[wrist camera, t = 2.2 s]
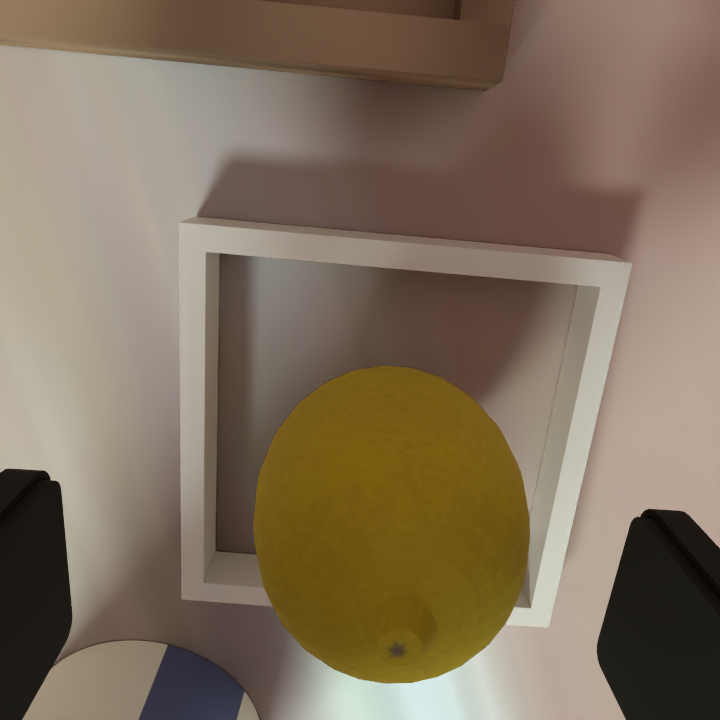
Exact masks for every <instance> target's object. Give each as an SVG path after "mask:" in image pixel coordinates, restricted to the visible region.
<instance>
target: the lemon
mask: <svg viewBox="0 0 720 720" xmlns="http://www.w3.org/2000/svg"><path fill="white" fill-rule="evenodd" d="M253 529H254V541H255V548H256V553H257V559H258V564H259V569H260V574H261V579H262V583H263V586H264V589H265V591H266V594H267V596H268V598H269V600H270V602H271V604H272V606H273V608H274V610H275V612H276V613H277V615H278V617H279V619H280V621H281V623H282V624H283V625H284V626H285V628H286V629H287V630H288V631H289V632H290V634H291V635H292V636H293V637H294V638H295V639H296V640H297V641H298V642H299V643H300V645H301V646H302V647H303V648H304V649H305V650H306V651H308V652H309V653H311V654H312V655H313V656H315V657H316V658H318V659H319V660H321V661H322V662H324V663H325V664H327V665H328V666H330V667H331V668H333V669H335V670H337V671H340V672H342V673H345V674H347V675H350V676H352V677H355V678H358V679H362V680H368V681H374V682H380V683H413V682H417V681H421V680H425V679H430V678H434V677H438V676H440V675H442V674H444V673H447V672H449V671H451V670H453V669H455V668H457V667H460V666H462V665H463V664H464V663H466V662H467V661H468V660H469V659H471V658H472V657H473V656H475V655H476V654H477V653H479V652H480V651H481V650H483V649H484V648H485V647H486V646H488V645H489V644H490V642H491V641H492V640H493V639H494V637H495V636H496V635H497V634H498V632H499V631H500V630H501V629H502V627H503V626H504V625H505V624H506V622H507V620H508V618H509V617H510V615H511V613H512V611H513V609H514V606H515V604H516V602H517V599H518V597H519V595H520V592H521V590H522V588H523V584H524V580H525V576H526V568H527V561H528V553H529V544H530V521H529V513H528V507H527V501H526V496H525V490H524V484H523V479H522V475H521V472H520V469H519V466H518V464H517V462H516V460H515V458H514V456H513V454H512V452H511V450H510V448H509V446H508V444H507V442H506V440H505V438H504V436H503V434H502V432H501V430H500V429H499V427H498V426H497V425H496V423H495V422H494V421H493V420H492V419H491V418H490V417H489V416H488V414H487V413H486V412H485V411H484V410H483V409H482V408H481V407H480V406H479V404H478V403H477V402H476V401H475V400H474V399H473V398H472V397H471V396H469V395H468V394H467V393H465V392H463V391H462V390H460V389H459V388H457V387H456V386H454V385H453V384H451V383H449V382H448V381H446V380H445V379H443V378H441V377H438V376H435V375H432V374H429V373H426V372H423V371H420V370H417V369H414V368H408V367H395V366H377V367H370V368H364V369H358V370H353V371H351V372H348V373H346V374H344V375H341V376H339V377H337V378H334V379H332V380H330V381H327V382H326V383H324V384H323V385H322V386H320V387H319V388H318V389H316V390H315V391H314V392H312V393H311V394H310V395H308V396H307V397H306V398H304V399H303V400H302V401H300V403H299V404H298V405H297V406H296V407H295V409H294V410H293V411H292V412H291V414H290V415H289V416H288V418H287V419H286V420H285V421H284V423H283V424H282V425H281V426H280V428H279V429H278V430H277V432H276V434H275V436H274V438H273V440H272V443H271V445H270V448H269V450H268V452H267V455H266V457H265V460H264V462H263V465H262V467H261V470H260V473H259V477H258V482H257V491H256V501H255V510H254V521H253Z"/></svg>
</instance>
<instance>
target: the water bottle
mask: <svg viewBox="0 0 720 720" xmlns="http://www.w3.org/2000/svg"><path fill="white" fill-rule="evenodd" d="M22 720H259V717H258V714H257V711H256V709H255V707H254V705H253V703H252V701H251V700H250V698H249V697H248V695H247V694H246V692H245V691H244V690H243V688H242V687H241V686H240V685H239V684H238V683H237V682H236V681H235V680H234V679H233V678H232V677H231V676H230V675H229V674H227V673H226V672H225V671H224V670H222V669H221V668H220V667H218V666H217V665H215V664H214V663H212V662H210V661H209V660H207V659H205V658H203V657H201V656H199V655H197V654H195V653H192V652H190V651H187V650H184V649H182V648H178V647H175V646H171V645H167V644H163V643H157V642H150V641H138V640H126V641H114V642H107V643H102V644H97V645H94V646H90V647H87V648H85V649H82V650H80V651H77V652H75V653H73V654H71V655H69V656H68V657H66V658H64V659H63V660H61V661H60V662H59V663H57V664H56V665H55V666H54V667H53V668H52V669H50V671H49V673H48V675H47V677H46V678H45V680H44V682H43V684H42V685H41V687H40V689H39V691H38V693H37V694H36V696H35V698H34V700H33V702H32V703H31V705H30V707H29V709H28V711H27V712H26V714H25V716H24V718H23V719H22Z"/></svg>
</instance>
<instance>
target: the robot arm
mask: <svg viewBox="0 0 720 720" xmlns="http://www.w3.org/2000/svg"><path fill="white" fill-rule="evenodd" d="M71 625H72V606H71V595H70V584H69V573H68V562H67V551H66V539H65V528H64V517H63V506H62V495H61V487H60V484H59V482H57V481H51V480H50V477H49V475H48V473H47V472H45V471H39V470H23V469H5V470H4V471H2V472H1V473H0V720H22V719H23V718H24V716H25V714H26V712H27V711H28V709H29V707H30V705H31V703H32V702H33V700H34V698H35V696H36V694H37V693H38V691H39V689H40V687H41V685H42V684H43V682H44V680H45V678H46V677H47V675H48V673H49V671H50V669H51V668H52V666H53V664H54V662H55V660H56V659H57V657H58V655H59V653H60V652H61V650H62V648H63V646H64V644H65V643H66V641H67V638H68V636H69V633H70V629H71ZM597 656H598V661H599V664H600V667H601V669H602V671H603V673H604V675H605V678H606V680H607V682H608V684H609V686H610V688H611V690H612V692H613V694H614V696H615V698H616V700H617V702H618V704H619V706H620V708H621V710H622V712H623V714H624V716H625V718H626V720H720V548H719V547H718V546H717V545H716V544H715V543H714V542H713V541H712V540H711V539H710V538H709V537H708V535H707V534H706V533H705V532H704V531H703V530H702V529H701V528H700V527H699V526H698V525H697V524H696V523H695V521H694V520H693V519H692V518H691V517H690V516H689V515H688V514H686V513H685V512H682V511H673V510H657V509H648V510H645V511H644V512H643V513H642V514H641V517H636V518H634V519H633V520H632V522H631V525H630V528H629V531H628V535H627V538H626V542H625V546H624V549H623V553H622V556H621V560H620V563H619V567H618V571H617V574H616V578H615V581H614V585H613V589H612V592H611V596H610V599H609V603H608V606H607V610H606V614H605V617H604V621H603V624H602V628H601V632H600V635H599V639H598V643H597Z"/></svg>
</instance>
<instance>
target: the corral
mask: <svg viewBox="0 0 720 720" xmlns="http://www.w3.org/2000/svg"><path fill="white" fill-rule="evenodd" d="M220 253H223V254H234V255H246V256H257V257H268V258H280V259H291V260H302V261H313V262H325V263H336V264H347V265H358V266H370V267H381V268H392V269H403V270H415V271H426V272H437V273H449V274H460V275H471V276H482V277H494V278H505V279H516V280H527V281H539V282H550V283H561V284H572V285H578V288H577V292H576V297H575V302H574V307H573V312H572V317H571V322H570V327H569V332H568V336H567V341H566V346H565V351H564V356H563V361H562V366H561V371H560V376H559V380H558V385H557V390H556V395H555V400H554V405H553V410H552V415H551V420H550V424H549V429H548V434H547V439H546V444H545V449H544V454H543V459H542V464H541V468H540V473H539V478H538V483H537V488H536V493H535V498H534V503H533V508H532V512H531V517H530V544H529V553H528V561H527V568H526V576H525V580H524V584H523V588H522V590H521V592H520V595H519V597H518V599H517V602H516V604H515V606H514V609H513V611H512V613H511V615H510V617H509V618H508V620H507V622H506V624H507V625H520V626H533V627H546V628H549V623H550V619H551V615H552V610H553V606H554V602H555V597H556V593H557V589H558V584H559V580H560V576H561V571H562V567H563V563H564V558H565V554H566V550H567V545H568V541H569V537H570V532H571V528H572V524H573V519H574V515H575V511H576V506H577V502H578V498H579V493H580V489H581V485H582V480H583V476H584V472H585V467H586V463H587V459H588V454H589V450H590V446H591V441H592V437H593V433H594V428H595V424H596V420H597V415H598V411H599V407H600V402H601V398H602V394H603V389H604V385H605V381H606V376H607V372H608V368H609V364H610V359H611V355H612V351H613V346H614V342H615V338H616V333H617V329H618V325H619V320H620V316H621V312H622V307H623V303H624V299H625V294H626V290H627V286H628V281H629V277H630V273H631V268H632V264H633V263H631V262H628V261H626V260H623V259H621V258H618V257H616V256H613V255H610V254H605V253H594V252H583V251H571V250H560V249H549V248H538V247H527V246H516V245H505V244H494V243H482V242H471V241H460V240H449V239H438V238H427V237H416V236H405V235H393V234H382V233H371V232H360V231H349V230H338V229H327V228H316V227H304V226H293V225H282V224H271V223H260V222H249V221H238V220H227V219H216V218H204V217H193V218H190V219H187V220H184V221H181V222H179V333H180V468H181V599H182V600H195V601H208V602H221V603H234V604H247V605H260V606H272V604H271V602H270V600H269V598H268V596H267V594H266V591H265V589H264V586H263V583H262V579H261V574H260V569H259V564H258V559H257V555H256V554H243V553H230V552H217V551H216V481H217V409H218V336H219V264H220Z"/></svg>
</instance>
